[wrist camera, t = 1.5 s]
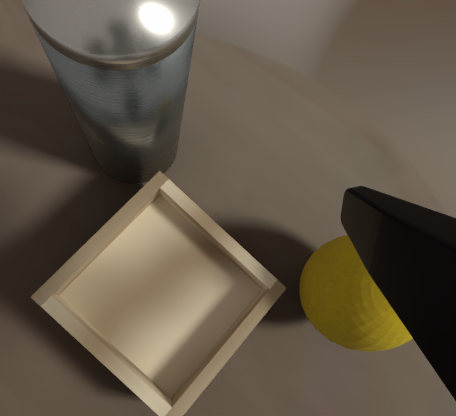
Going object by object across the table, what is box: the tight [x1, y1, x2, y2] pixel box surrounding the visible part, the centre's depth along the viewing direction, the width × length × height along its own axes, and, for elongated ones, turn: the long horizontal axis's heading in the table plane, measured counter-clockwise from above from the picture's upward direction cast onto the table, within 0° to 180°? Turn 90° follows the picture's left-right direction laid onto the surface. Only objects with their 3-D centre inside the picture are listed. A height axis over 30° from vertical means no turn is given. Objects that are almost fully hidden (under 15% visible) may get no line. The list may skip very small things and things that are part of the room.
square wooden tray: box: [31, 171, 286, 416], centre depth 20 cm, size 8×8×4 cm
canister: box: [21, 0, 200, 183], centre depth 17 cm, size 5×5×13 cm
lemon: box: [299, 235, 412, 352], centre depth 19 cm, size 6×6×8 cm
